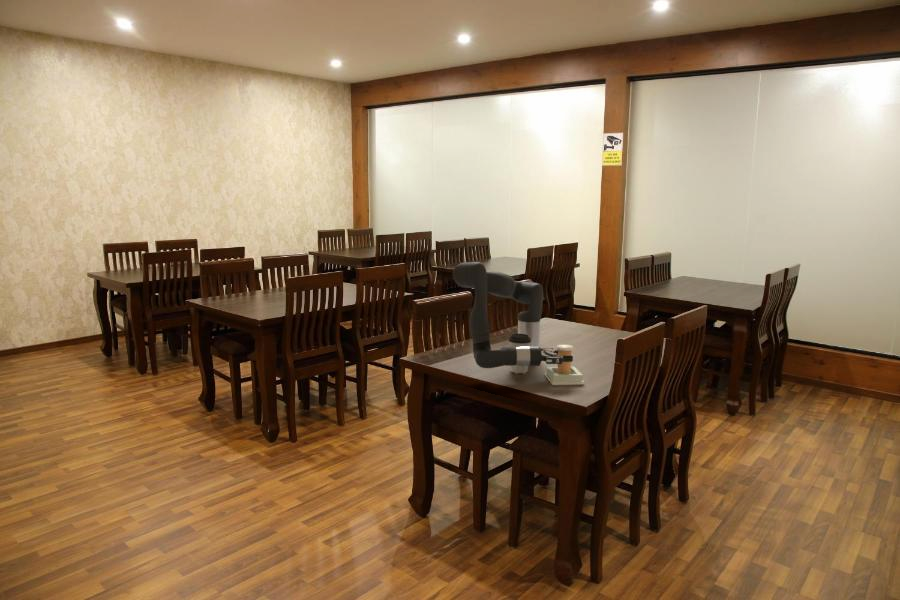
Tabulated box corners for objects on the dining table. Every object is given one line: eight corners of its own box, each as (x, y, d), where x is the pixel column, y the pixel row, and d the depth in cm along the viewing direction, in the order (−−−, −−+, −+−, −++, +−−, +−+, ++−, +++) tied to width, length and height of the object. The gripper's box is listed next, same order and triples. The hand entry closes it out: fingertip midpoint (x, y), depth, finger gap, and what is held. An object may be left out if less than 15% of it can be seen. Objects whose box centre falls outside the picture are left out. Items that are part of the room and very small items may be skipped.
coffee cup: (528, 367, 243) (529, 331, 240) (532, 374, 234) (533, 337, 231) (506, 367, 243) (507, 331, 240) (509, 374, 234) (510, 337, 231)
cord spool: (554, 375, 230) (555, 344, 228) (569, 374, 231) (570, 344, 229) (557, 379, 224) (559, 348, 222) (573, 379, 225) (575, 348, 223)
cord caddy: (544, 375, 233) (544, 366, 233) (574, 374, 234) (575, 366, 234) (552, 384, 221) (552, 375, 221) (583, 384, 222) (584, 375, 222)
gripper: (531, 351, 217) (575, 350, 219) (523, 341, 231) (564, 341, 233) (530, 371, 219) (574, 370, 220) (523, 360, 233) (564, 360, 234)
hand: (569, 355), depth 226 cm, fingers open, 8 cm apart
